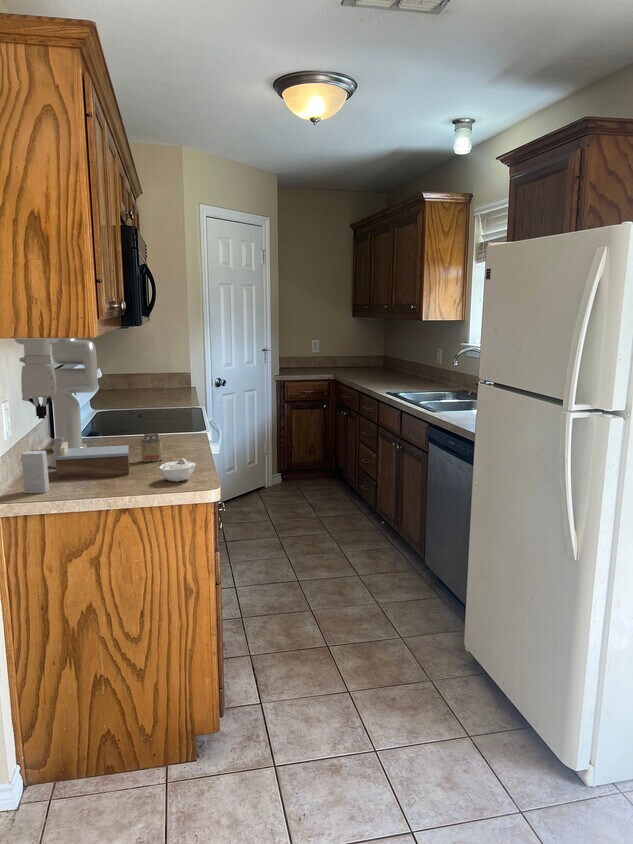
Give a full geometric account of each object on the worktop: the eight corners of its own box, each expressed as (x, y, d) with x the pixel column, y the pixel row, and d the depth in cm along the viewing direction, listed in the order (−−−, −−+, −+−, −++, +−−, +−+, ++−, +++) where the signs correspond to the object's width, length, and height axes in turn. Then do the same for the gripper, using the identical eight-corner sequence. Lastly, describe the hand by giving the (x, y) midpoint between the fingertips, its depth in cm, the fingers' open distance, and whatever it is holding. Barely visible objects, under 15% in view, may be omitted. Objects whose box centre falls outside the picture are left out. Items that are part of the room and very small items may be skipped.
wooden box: (61, 469, 210) (60, 452, 209) (129, 465, 216) (128, 448, 215) (57, 479, 198) (55, 461, 197) (129, 474, 204) (128, 456, 203)
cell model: (152, 481, 196) (151, 460, 194) (183, 474, 205) (182, 454, 204) (172, 487, 189) (171, 465, 188) (202, 479, 198) (202, 458, 197)
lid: (60, 451, 209) (59, 441, 209) (128, 448, 215) (128, 438, 214) (55, 460, 197) (54, 449, 196) (128, 455, 203) (127, 445, 202)
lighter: (141, 462, 221) (140, 435, 219) (141, 460, 225) (140, 433, 223) (162, 461, 223) (161, 434, 221) (161, 459, 226) (160, 432, 225)
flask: (65, 462, 221) (63, 435, 219) (75, 465, 216) (74, 437, 214) (45, 466, 215) (43, 438, 213) (56, 469, 211) (54, 440, 209)
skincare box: (49, 489, 186) (46, 450, 184) (45, 493, 182) (42, 453, 180) (28, 490, 186) (25, 450, 184) (23, 494, 181) (20, 454, 179)
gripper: (9, 362, 191) (14, 421, 194) (61, 361, 195) (65, 418, 198) (14, 360, 198) (18, 417, 201) (64, 360, 202) (68, 415, 205)
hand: (41, 418), depth 199 cm, fingers closed
